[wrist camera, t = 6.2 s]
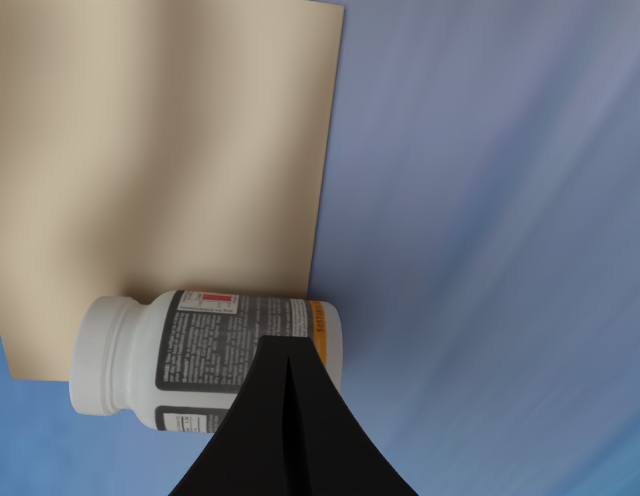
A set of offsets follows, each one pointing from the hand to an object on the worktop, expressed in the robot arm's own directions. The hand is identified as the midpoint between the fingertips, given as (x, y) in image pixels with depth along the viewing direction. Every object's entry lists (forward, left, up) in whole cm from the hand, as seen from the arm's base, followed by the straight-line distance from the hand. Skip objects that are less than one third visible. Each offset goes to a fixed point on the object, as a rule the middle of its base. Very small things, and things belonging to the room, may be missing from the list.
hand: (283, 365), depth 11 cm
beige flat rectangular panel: (+4, +4, -9) cm, 10 cm away
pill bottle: (-6, +1, -6) cm, 8 cm away
